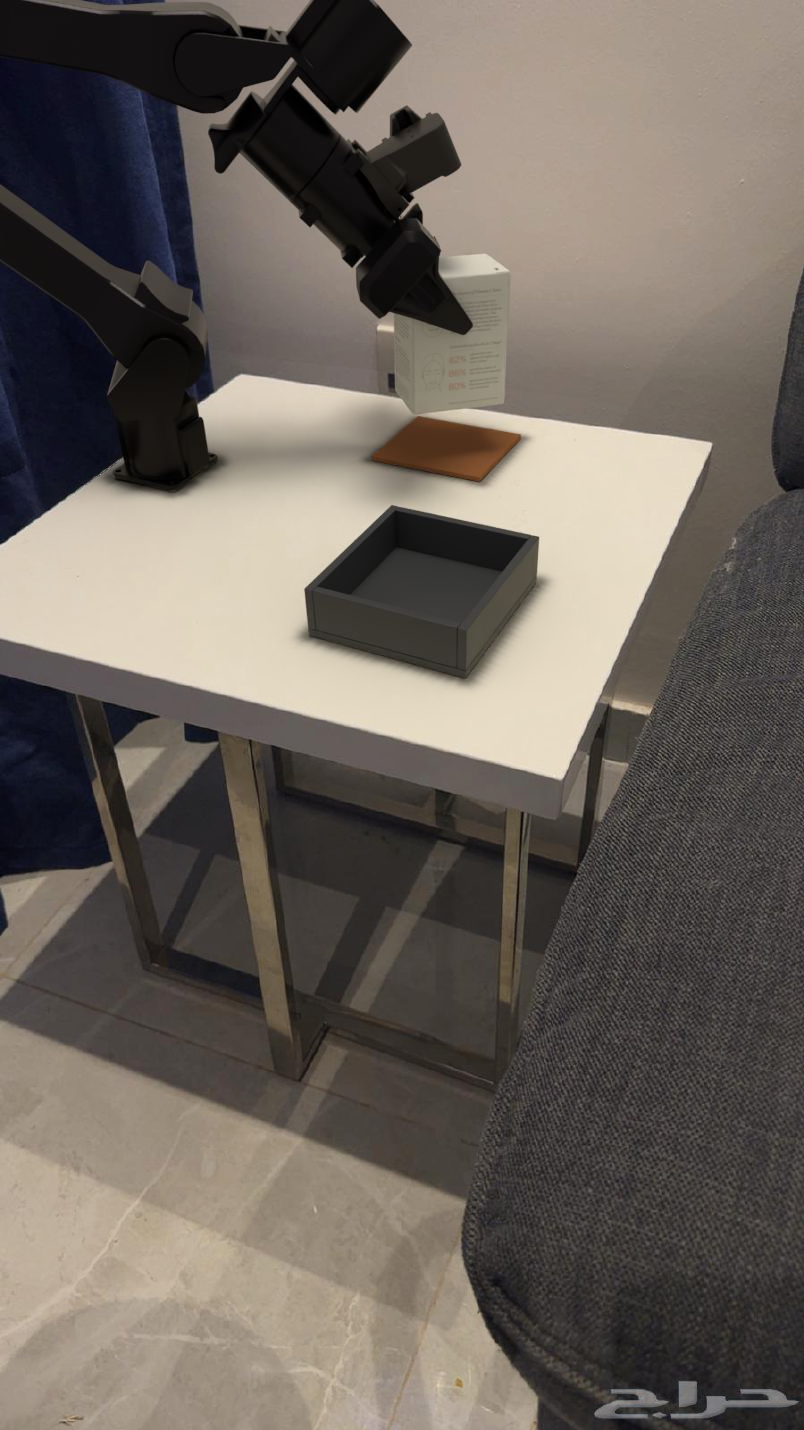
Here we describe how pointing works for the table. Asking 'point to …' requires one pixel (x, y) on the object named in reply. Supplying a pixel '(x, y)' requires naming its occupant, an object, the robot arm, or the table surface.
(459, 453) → the mat
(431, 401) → the small box
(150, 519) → the table surface
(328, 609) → the bin
